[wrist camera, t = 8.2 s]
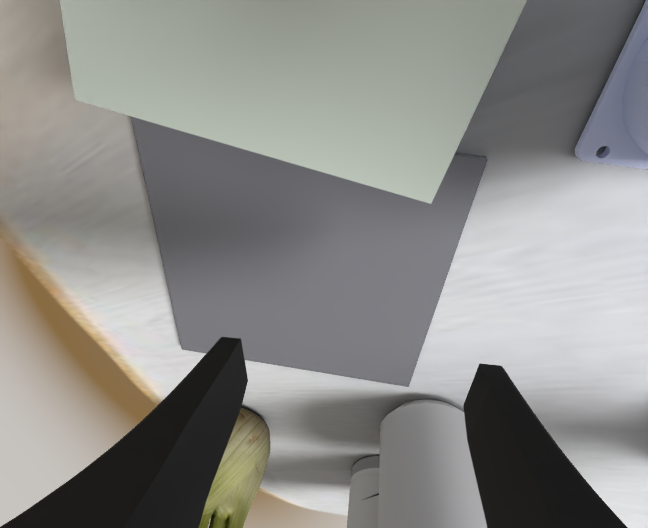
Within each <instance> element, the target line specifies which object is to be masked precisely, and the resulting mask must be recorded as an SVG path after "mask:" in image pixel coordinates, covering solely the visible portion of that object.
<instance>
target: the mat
mask: <svg viewBox="0 0 648 528" xmlns="http://www.w3.org/2000/svg"><path fill="white" fill-rule="evenodd" d="M131 118H132V123H133V128H134V132H135V137H136V141H137V146H138V151H139V155H140V160H141V164H142V169H143V173H144V178H145V183H146V187H147V192H148V196H149V201H150V206H151V210H152V215H153V219H154V224H155V229H156V233H157V238H158V242H159V247H160V252H161V256H162V261H163V265H164V270H165V275H166V279H167V284H168V288H169V293H170V297H171V302H172V307H173V311H174V316H175V320H176V325H177V330H178V334H179V339H180V343H181V348H182V349H183V350H189V351H195V352H201V353H208V351H209V350H210V349H211V348H212V347H213V346H214V344H215V343H216V342H217V341H218V340H219V339H220V338H221V337H230V338H240V339H241V341H242V348H243V354H244V360H249V361H255V362H261V363H267V364H273V365H279V366H285V367H291V368H298V369H304V370H310V371H316V372H322V373H328V374H334V375H340V376H346V377H352V378H358V379H364V380H370V381H376V382H382V383H388V384H394V385H400V386H406V387H409V384H410V381H411V378H412V375H413V372H414V369H415V367H416V364H417V361H418V358H419V355H420V352H421V349H422V346H423V344H424V341H425V338H426V335H427V332H428V329H429V326H430V323H431V321H432V318H433V315H434V312H435V309H436V306H437V303H438V300H439V297H440V295H441V292H442V289H443V286H444V283H445V280H446V277H447V274H448V272H449V269H450V266H451V263H452V260H453V257H454V254H455V251H456V248H457V246H458V243H459V240H460V237H461V234H462V231H463V228H464V225H465V223H466V220H467V217H468V214H469V211H470V208H471V205H472V202H473V200H474V197H475V194H476V191H477V188H478V185H479V182H480V179H481V176H482V174H483V171H484V168H485V165H486V162H487V158H486V157H484V156H476V155H468V154H460V153H455V154H454V156H453V158H452V161H451V163H450V165H449V167H448V169H447V171H446V173H445V175H444V178H443V180H442V182H441V184H440V186H439V188H438V190H437V192H436V195H435V197H434V199H433V201H432V203H431V204H430V203H426V202H423V201H419V200H416V199H412V198H409V197H406V196H402V195H399V194H395V193H392V192H388V191H385V190H382V189H378V188H375V187H371V186H368V185H364V184H361V183H358V182H354V181H351V180H347V179H344V178H340V177H337V176H334V175H330V174H327V173H323V172H320V171H316V170H313V169H310V168H306V167H303V166H299V165H296V164H292V163H289V162H286V161H282V160H279V159H275V158H272V157H268V156H265V155H262V154H258V153H255V152H251V151H248V150H244V149H241V148H238V147H234V146H231V145H227V144H224V143H220V142H217V141H214V140H210V139H207V138H203V137H200V136H196V135H193V134H190V133H186V132H183V131H179V130H176V129H172V128H169V127H166V126H162V125H159V124H155V123H152V122H148V121H145V120H142V119H138V118H135V117H131Z"/></svg>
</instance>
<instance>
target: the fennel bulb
mask: <svg viewBox="0 0 648 528" xmlns="http://www.w3.org/2000/svg"><path fill="white" fill-rule="evenodd" d="M269 454H270V432H269V428H268V426H267V424H266V423H265V421H264V420H262V419H261V418H260V417H259V416H258V415H256V414H255V413H253V412H252V411H249V410H247V409H244V408H241V409H240V413H239V415H238V418H237V421H236V423H235V426H234V428H233V431H232V434H231V436H230V439H229V442H228V444H227V447H226V449H225V452H224V455H223V457H222V460H221V462H220V465H219V467H218V470H217V473H216V475H215V478H214V480H213V483H212V486H211V489H210V492H209V495H208V498H207V501H206V504H205V507H204V511H203V514H202V518H201V521H200V525H199V528H207V527H208V524H209V519H210V518H211V521H210V526H209V528H243V525H244V522H245V520H246V517H247V514H248V512H249V509H250V507H251V504H252V502H253V500H254V498H255V496H256V493H257V491H258V489H259V487H260V484H261V481H262V477H263V475H264V472H265V469H266V465H267V462H268V458H269Z"/></svg>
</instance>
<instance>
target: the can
mask: <svg viewBox="0 0 648 528" xmlns="http://www.w3.org/2000/svg"><path fill="white" fill-rule="evenodd" d="M378 528H487V524H486V520H485V515H484V511H483V507H482V502H481V498H480V494H479V489H478V485H477V481H476V477H475V472H474V468H473V463H472V459H471V455H470V450H469V446H468V441H467V433H466V425H465V415H464V412H462V411H461V410H460V409H458V408H456V407H455V406H453V405H451V404H449V403H445V402H442V401H438V400H428V399H425V400H414V401H411V402H407V403H404V404H402V405H400V406H399V407H397V408H396V409H395V410H394V411H392V412H391V413H389V414H388V415H386V417H385V418H384V419H383V421H382V422H381V429H380V467H379V515H378Z"/></svg>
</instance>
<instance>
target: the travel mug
mask: <svg viewBox="0 0 648 528" xmlns="http://www.w3.org/2000/svg"><path fill="white" fill-rule="evenodd" d="M379 467H380V456H370V457H366V458H363V459H361V460H359V461H357V462H356V463H355V464H354V465H353V467H352V469H351V482H350V483H351V487H350V495H349V508H348V520H347V528H378V515H379Z"/></svg>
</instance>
